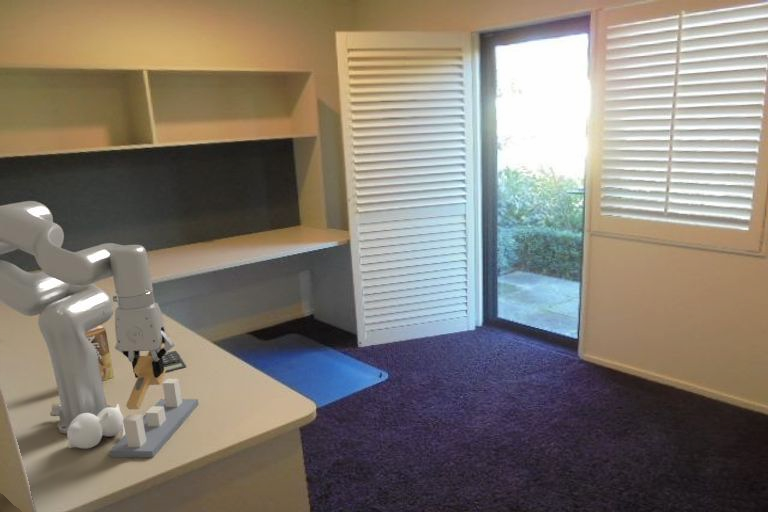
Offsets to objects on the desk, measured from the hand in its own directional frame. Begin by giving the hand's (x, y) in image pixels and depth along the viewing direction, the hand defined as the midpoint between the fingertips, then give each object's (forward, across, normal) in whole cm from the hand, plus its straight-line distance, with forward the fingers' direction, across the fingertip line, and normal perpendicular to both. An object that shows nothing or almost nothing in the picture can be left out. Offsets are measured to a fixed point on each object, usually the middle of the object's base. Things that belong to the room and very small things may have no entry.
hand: (149, 374), depth 128 cm
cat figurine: (+14, -11, -6) cm, 19 cm away
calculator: (+14, -18, +36) cm, 43 cm away
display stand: (+14, 0, 0) cm, 14 cm away
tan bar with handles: (+2, 0, +2) cm, 3 cm away
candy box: (+14, -32, +25) cm, 43 cm away
